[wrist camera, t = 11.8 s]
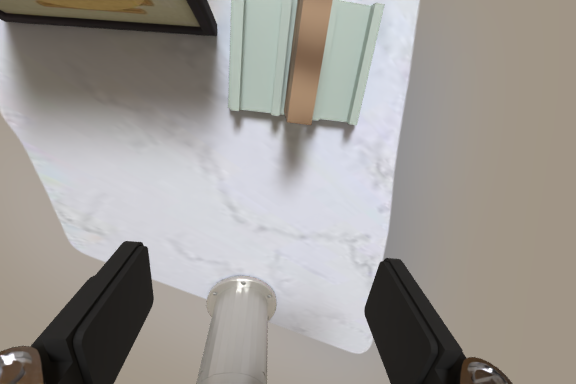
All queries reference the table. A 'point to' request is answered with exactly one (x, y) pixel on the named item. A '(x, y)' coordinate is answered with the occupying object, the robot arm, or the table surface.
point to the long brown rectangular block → (306, 59)
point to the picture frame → (116, 14)
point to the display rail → (277, 51)
